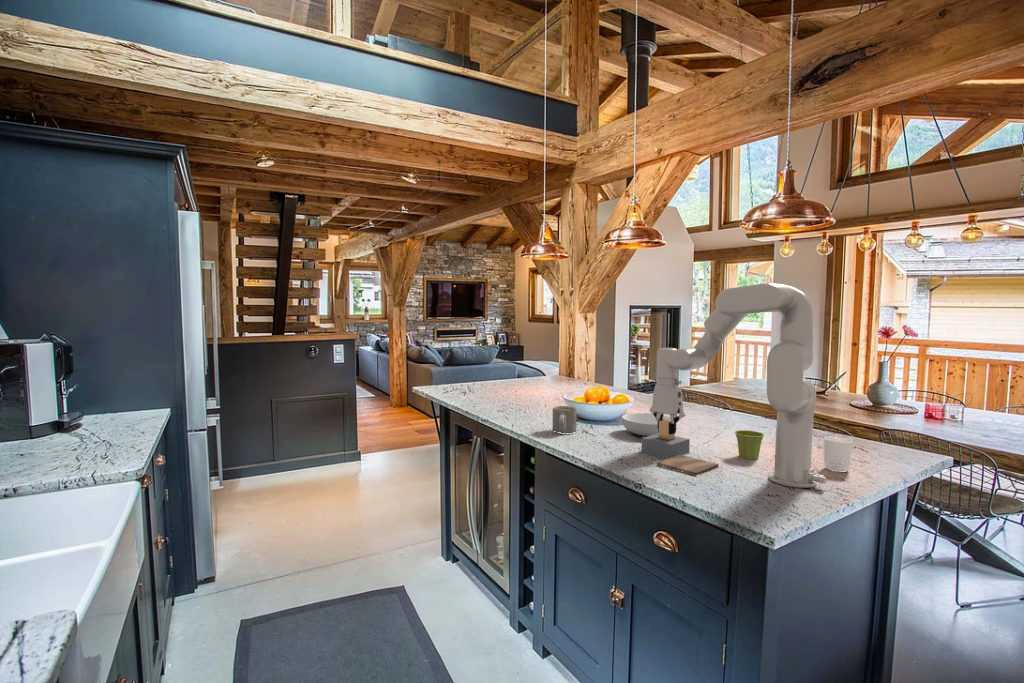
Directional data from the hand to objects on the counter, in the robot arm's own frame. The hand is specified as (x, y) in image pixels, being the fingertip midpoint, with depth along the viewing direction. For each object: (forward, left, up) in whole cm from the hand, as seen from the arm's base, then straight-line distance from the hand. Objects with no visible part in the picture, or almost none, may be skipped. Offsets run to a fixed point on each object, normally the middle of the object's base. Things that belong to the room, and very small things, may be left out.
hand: (666, 432), depth 182 cm
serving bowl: (+20, -18, -8) cm, 28 cm away
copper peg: (0, 0, -6) cm, 6 cm away
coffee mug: (+44, +7, -8) cm, 46 cm away
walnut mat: (-14, +9, -7) cm, 18 cm away
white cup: (-47, -26, -8) cm, 54 cm away
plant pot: (-22, -17, -8) cm, 29 cm away
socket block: (0, 0, -7) cm, 7 cm away
